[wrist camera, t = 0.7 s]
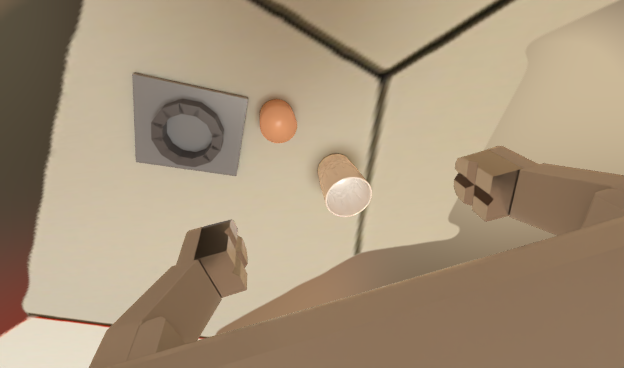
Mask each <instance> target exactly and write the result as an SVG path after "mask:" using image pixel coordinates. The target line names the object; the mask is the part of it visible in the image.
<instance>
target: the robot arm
mask: <svg viewBox="0 0 624 368" xmlns="http://www.w3.org/2000/svg"><path fill="white" fill-rule="evenodd" d="M455 169H456V171H457V172H458V174H457V176H456V177H455V179H454V189H455V193H456V195H457V196H458V198H459V199H460V200H461V201H462V202H463V203H465V204H469V205H472V211H473V212H475V213H476V214H477V215H478V216H479V217H480V218H482V219H483V220H484V221H486V222H487V221H490V220H494V219H498V218H502V217H506V216H509V217H511V218H513V219H516V220H519V221H522V222H524V223H527V224H529V225H531V226H534V227H536V228H539V229H542V230H544V231H547V232H549V233H552V234H555V235H557V236H555V237H552V238H548V239H545V240H541V241H538V242H535V243H531V244H528V245H524V246H521V247H517V248H514V249H510V250H507V251H503V252H500V253H496V254H493V255H490V256H486V257H483V258H479V259H476V260H472V261H469V262H466V263H462V264H458V265H455V266H451V267H448V268H445V269H441V270H438V271H435V272H431V273H428V274H424V275H421V276H418V277H414V278H410V279H407V280H404V281H401V282H397V283H394V284H390V285H387V286H383V287H380V288H377V289H373V290H370V291H366V292H363V293H359V294H356V295H352V296H349V297H346V298H342V299H339V300H335V301H332V302H328V303H325V304H322V305H318V306H315V307H311V308H308V309H305V310H301V311H298V312H294V313H291V314H287V315H284V316H281V317H277V318H274V319H270V320H267V321H263V322H260V323H256V324H253V325H250V326H246V327H243V328H239V329H236V330H233V331H229V332H226V333H222V334H219V335H215V336H212V337H208V338H205V339H202V340H198V338H199V336H200V335H201V333H202V331H203V330H204V328H205V326H206V325H207V323H208V321H209V320H210V318H211V316H212V315H213V313H214V311H215V310H216V308H217V306H218V305H219V303H220V301H221V300H222V299H221V298H223V297H226V296H229V295H232V294H235V293H238V292H242V291H245V290H247V272H246V270H245V267H246V265H247V264H248V257H247V250H246V247H245V244H244V241H243V239H242V238H241V237H239V236H238V235H237V232H238V228H237V226H236V224H235V222H234V221H233V220H228V221H224V222H220V223H216V224H212V225H208V226H204V227H200V228H196V229H193V230H189V231H188V232H187V233H186V236H185V239H184V242H183V245H182V248H181V251H180V255H179V258H178V261H177V264H176V266H172V267H171V268H170V269H169V270H168V271H167V272H166V273H165V274H164V275H163V276H161V277H160V278H159V279H158V280H157V281H156V282H155V283H154V284H153V285H152V286H151V287H150V288H149V289H148V290H147V291H146V292H145V293H144V294H143V295H142V296H141V297H140V298H139V299H138V300H137V301H136V302H135V303H134V304H133V305H132V306H131V307H130V308H129V309H128V310H127V311H126V312H125V313H124V314H123V315H122V316H121V317H120V318H119V319H118V320H117V321H116V322H115V323H114V324H113V325H112V326H111V327H110V328H109V329H108V330H107V331H106V333H105V335H104V337H103V339H102V341H101V343H100V345H99V348H98V350H97V352H96V354H95V356H94V358H93V360H92V362H91V364H90V366H89V368H624V175H618V174H612V173H605V172H598V171H591V170H585V169H578V168H571V167H565V166H558V165H552V164H544V163H543V164H537V163H535V162H533V161H531V160H529V159H527V158H525V157H523V156H521V155H519V154H517V153H515V152H513V151H511V150H509V149H507V148H505V147H503V146H496V147H493V148H490V149H487V150H484V151H481V152H478V153H474V154H471V155H467V156H464V157H460V158H458V159H457V161H456V163H455ZM197 340H198V341H197Z"/></svg>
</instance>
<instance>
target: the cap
mask: <svg viewBox="0 0 624 368" xmlns="http://www.w3.org/2000/svg"><path fill="white" fill-rule="evenodd" d="M260 129H261V132H262V134H263V136H264V137H265V138H266V139H267V140H269V141H271V142H274V143H283V142H286V141H288V140H290V139H291V138H292V137H293V136H294V134H295V132H296V130H297V122H296V119H295V116H294V113H293V111H292V108H291V107H290V105H289V104H288V103H287V102H285V101H283V100H280V99H273V100H269V101H268V102H266V103H265V104H264V105H263V106H262V108H261V110H260Z"/></svg>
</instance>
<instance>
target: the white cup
mask: <svg viewBox="0 0 624 368" xmlns="http://www.w3.org/2000/svg"><path fill="white" fill-rule="evenodd" d="M317 172H318V175H319V179H320V186H321V189H322V193H323V196H324V200H325V203H326V206H327V208H328V210H329V211H330V212H331V213H332V214H334V215H336V216H340V217H349V216H353V215H356V214H358V213H360V212H361V211H362V210H364V209H365V208H366V207H367V205H368V204H369V202H370V200H371V197H372V189H371V187H370V185H369V183H368V182H367V181H366V180H365V178H364V177H363V176H362V174H361V173H360V172H359V170H358V169H357V168H356V167H355V166H354V164H352V163H351V162H350V160H349V159H348V158H347V157H346V156H344V155H341V154H331V155H329V156H327V157H326V158H324V159H323V160H322V161H321V163H320V164H319V167H318V171H317Z"/></svg>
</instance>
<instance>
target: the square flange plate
mask: <svg viewBox="0 0 624 368" xmlns="http://www.w3.org/2000/svg"><path fill="white" fill-rule="evenodd" d="M132 75H133V100H134V125H135V150H136V162H139V163H146V164H154V165H161V166H168V167H175V168H182V169H189V170H196V171H203V172H210V173H218V174H225V175H232V176H236V175H237V168H238V162H239V155H240V149H241V142H242V136H243V129H244V123H245V116H246V110H247V103H248V97H243V96H239V95H234V94H230V93H225V92H220V91H216V90H211V89H207V88H202V87H198V86H193V85H189V84H184V83H179V82H175V81H170V80H166V79H161V78H157V77H152V76H148V75H143V74H139V73H133V74H132Z"/></svg>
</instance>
